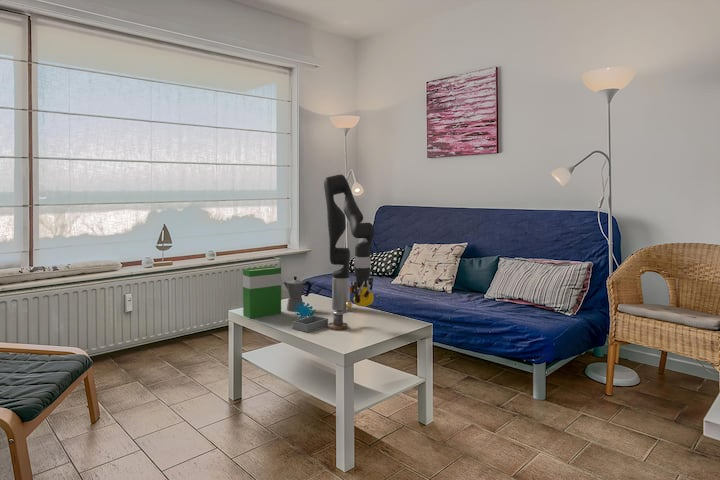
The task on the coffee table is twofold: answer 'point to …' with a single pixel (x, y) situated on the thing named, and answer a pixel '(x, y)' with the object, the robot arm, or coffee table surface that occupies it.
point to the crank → (348, 309)
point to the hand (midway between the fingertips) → (362, 301)
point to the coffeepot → (296, 292)
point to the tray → (310, 323)
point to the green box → (261, 291)
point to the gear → (304, 310)
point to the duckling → (364, 300)
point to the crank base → (337, 323)
